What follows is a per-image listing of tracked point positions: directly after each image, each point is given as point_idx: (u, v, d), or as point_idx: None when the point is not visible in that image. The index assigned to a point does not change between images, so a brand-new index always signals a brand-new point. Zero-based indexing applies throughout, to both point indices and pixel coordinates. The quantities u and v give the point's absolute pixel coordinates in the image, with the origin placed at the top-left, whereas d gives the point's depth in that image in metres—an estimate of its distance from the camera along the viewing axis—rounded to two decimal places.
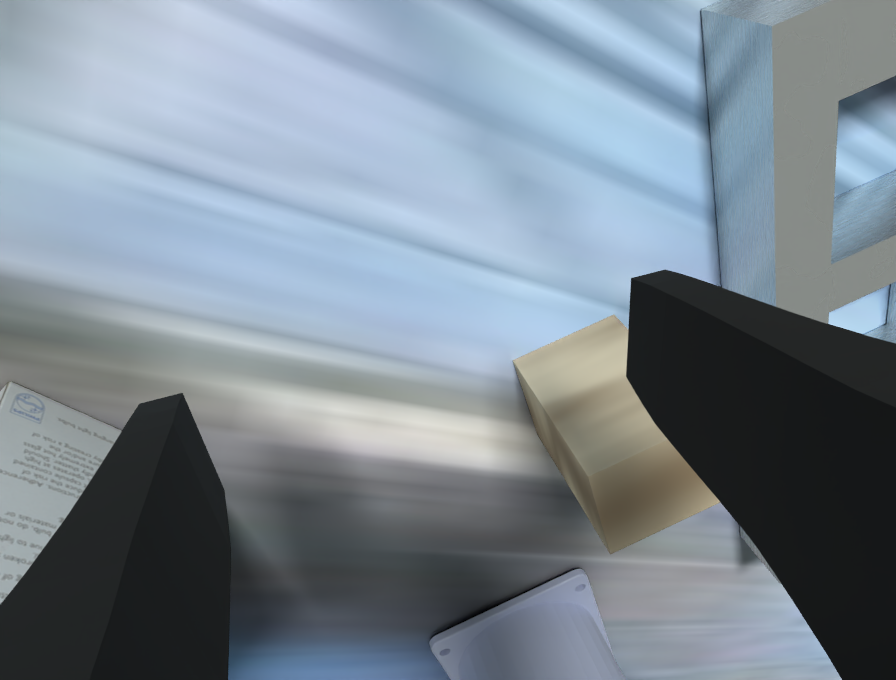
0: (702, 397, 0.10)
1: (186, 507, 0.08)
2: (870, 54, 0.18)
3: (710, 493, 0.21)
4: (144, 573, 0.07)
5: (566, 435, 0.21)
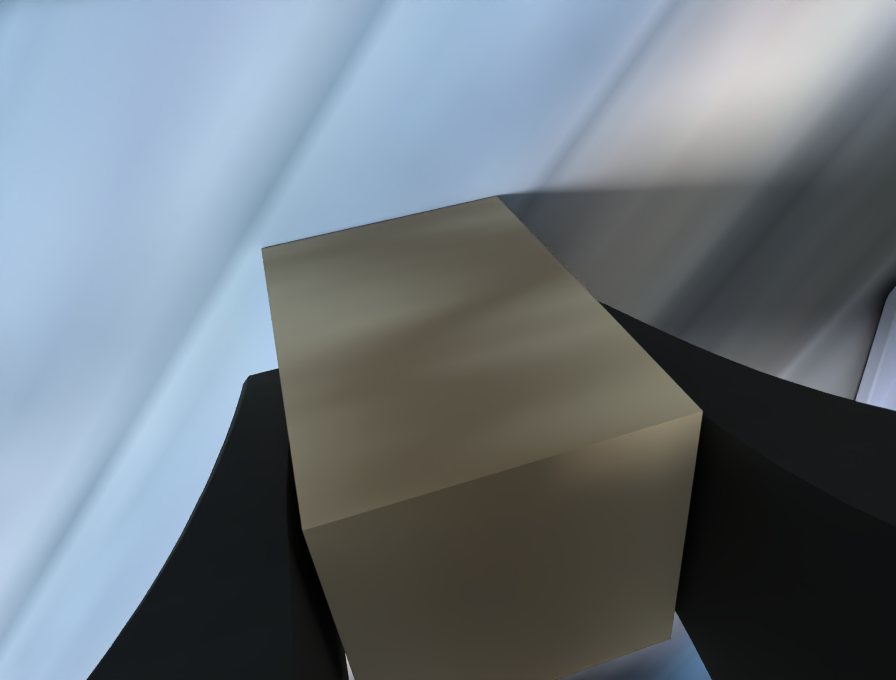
0: None
1: None
2: None
3: (639, 454, 0.07)
4: (295, 528, 0.07)
5: None
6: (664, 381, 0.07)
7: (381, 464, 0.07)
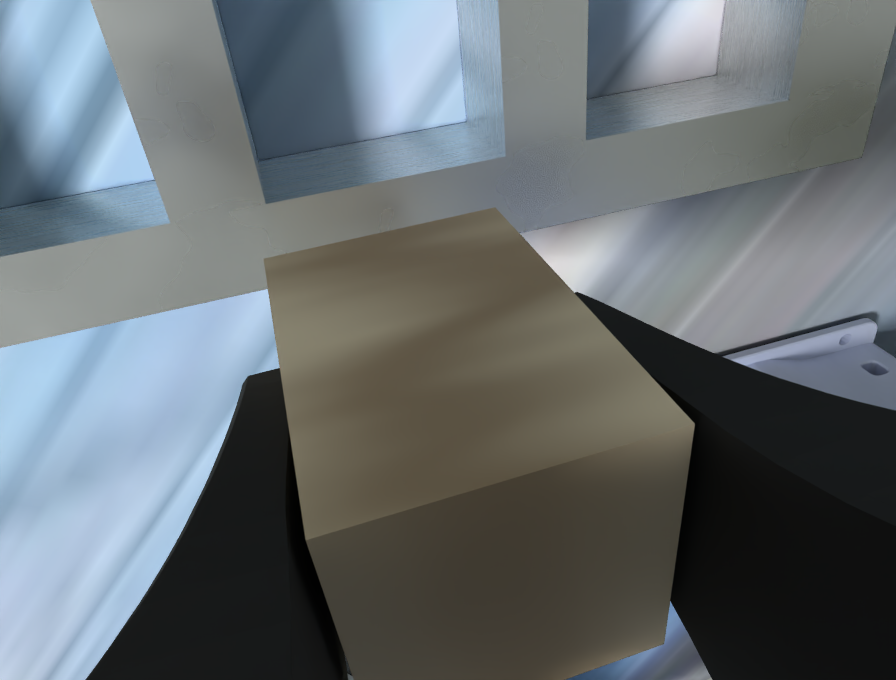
0: None
1: None
2: None
3: (633, 465, 0.07)
4: (294, 528, 0.07)
5: None
6: (657, 394, 0.07)
7: (382, 475, 0.07)
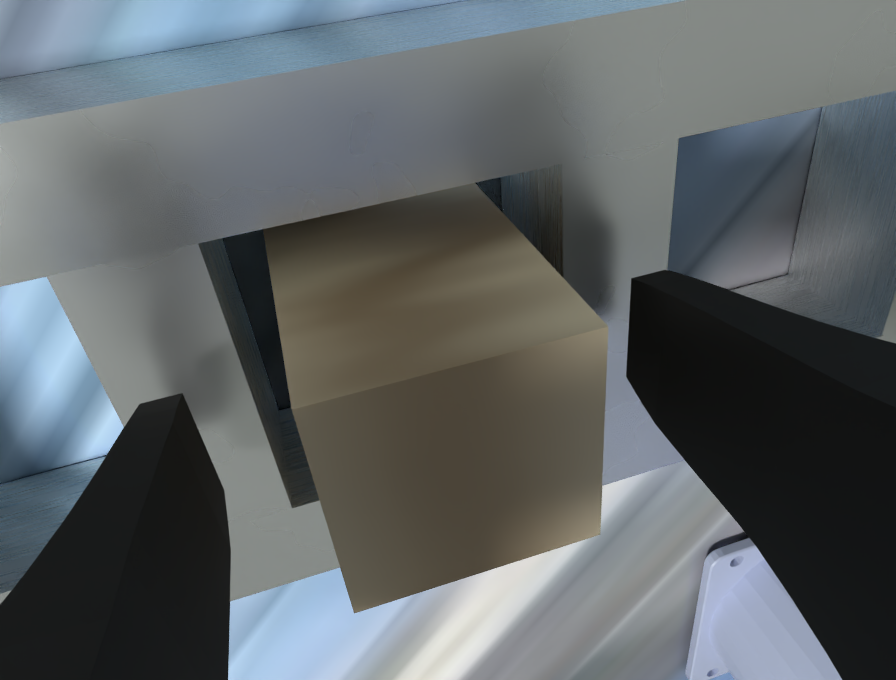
0: (702, 397, 0.10)
1: (186, 507, 0.08)
2: None
3: (558, 361, 0.09)
4: (144, 573, 0.07)
5: None
6: (581, 308, 0.09)
7: (354, 366, 0.08)
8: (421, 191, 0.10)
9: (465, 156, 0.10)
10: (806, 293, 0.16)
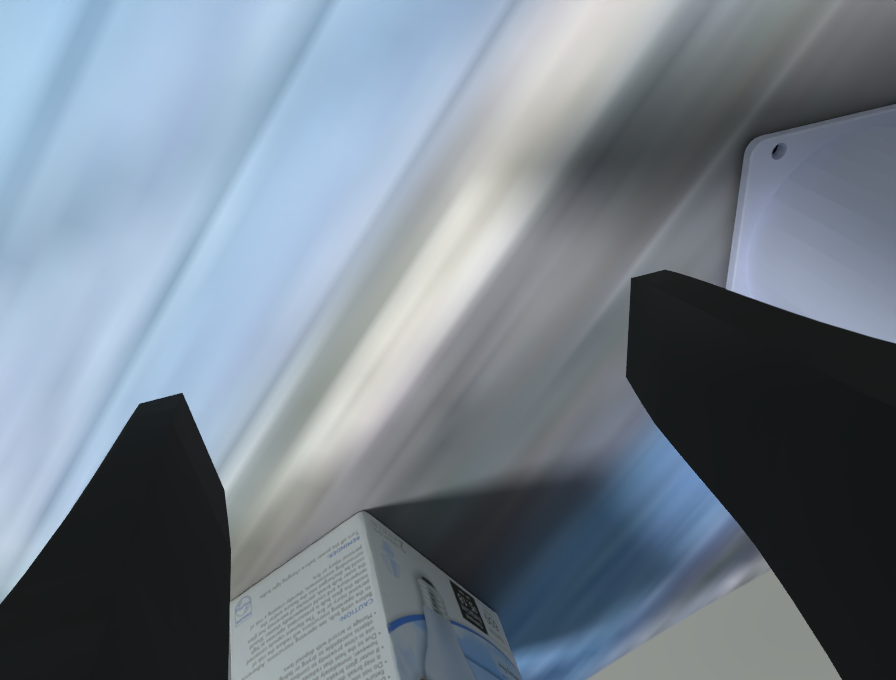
0: (702, 397, 0.10)
1: (186, 507, 0.08)
2: None
3: None
4: (144, 573, 0.07)
5: None
6: None
7: None
8: None
9: None
10: None
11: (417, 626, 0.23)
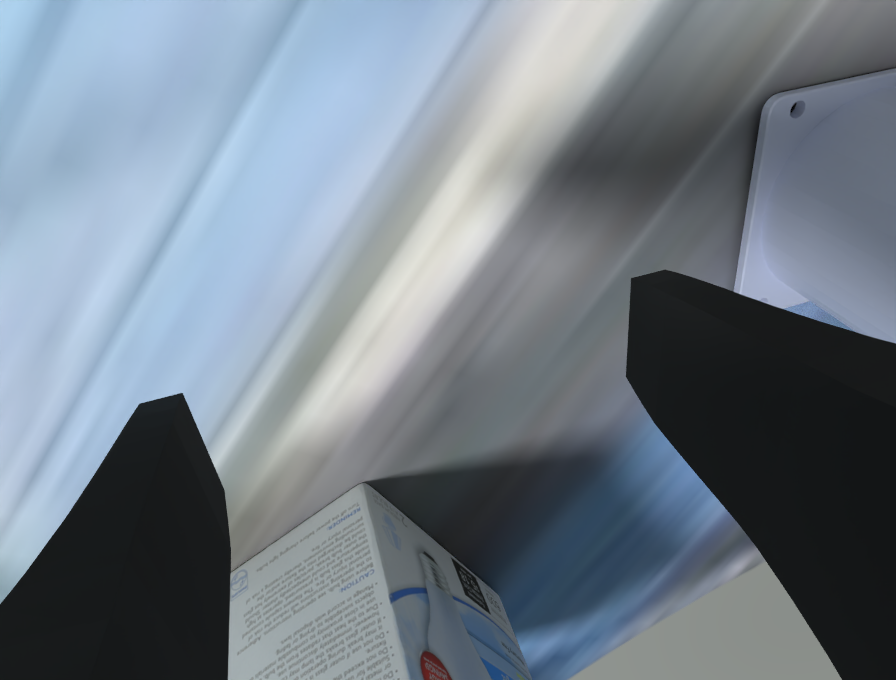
0: (702, 398, 0.10)
1: (186, 507, 0.08)
2: None
3: None
4: (144, 573, 0.07)
5: None
6: None
7: None
8: None
9: None
10: None
11: (419, 598, 0.22)
